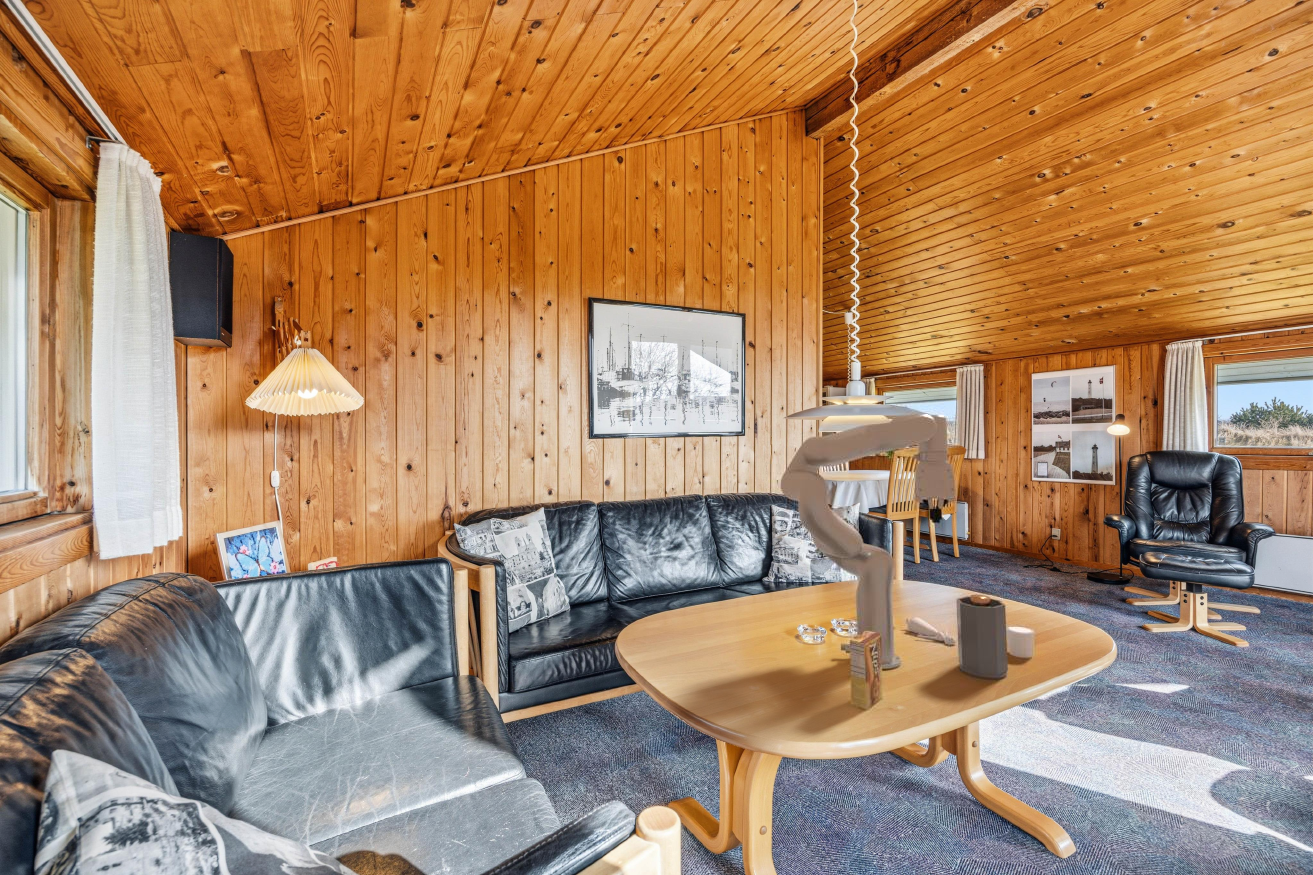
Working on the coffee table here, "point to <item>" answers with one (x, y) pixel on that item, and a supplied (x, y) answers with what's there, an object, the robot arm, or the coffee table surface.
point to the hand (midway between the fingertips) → (935, 522)
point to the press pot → (982, 639)
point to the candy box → (866, 669)
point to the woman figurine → (928, 631)
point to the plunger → (980, 600)
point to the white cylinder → (1020, 641)
